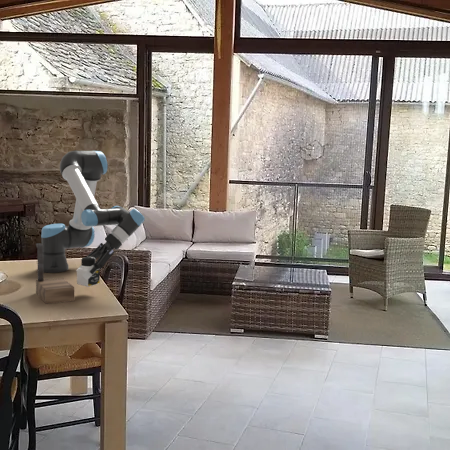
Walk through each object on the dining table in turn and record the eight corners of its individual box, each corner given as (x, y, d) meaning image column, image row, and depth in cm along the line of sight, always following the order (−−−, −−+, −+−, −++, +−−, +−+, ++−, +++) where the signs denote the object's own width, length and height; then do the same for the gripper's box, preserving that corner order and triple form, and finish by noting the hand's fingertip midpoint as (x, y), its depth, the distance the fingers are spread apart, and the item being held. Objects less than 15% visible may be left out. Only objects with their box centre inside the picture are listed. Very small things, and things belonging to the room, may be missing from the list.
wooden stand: (35, 292, 273) (34, 243, 270) (62, 289, 279) (62, 242, 276) (45, 303, 256) (45, 251, 253) (74, 300, 262) (74, 250, 259)
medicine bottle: (88, 287, 267) (88, 260, 265) (76, 284, 271) (76, 257, 269) (99, 283, 273) (100, 257, 271) (88, 281, 277) (88, 255, 275)
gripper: (130, 248, 267) (94, 287, 262) (114, 239, 286) (80, 275, 281) (119, 237, 264) (82, 276, 259) (103, 228, 283) (68, 264, 277)
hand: (81, 275), depth 270 cm, fingers closed on medicine bottle, 9 cm apart
